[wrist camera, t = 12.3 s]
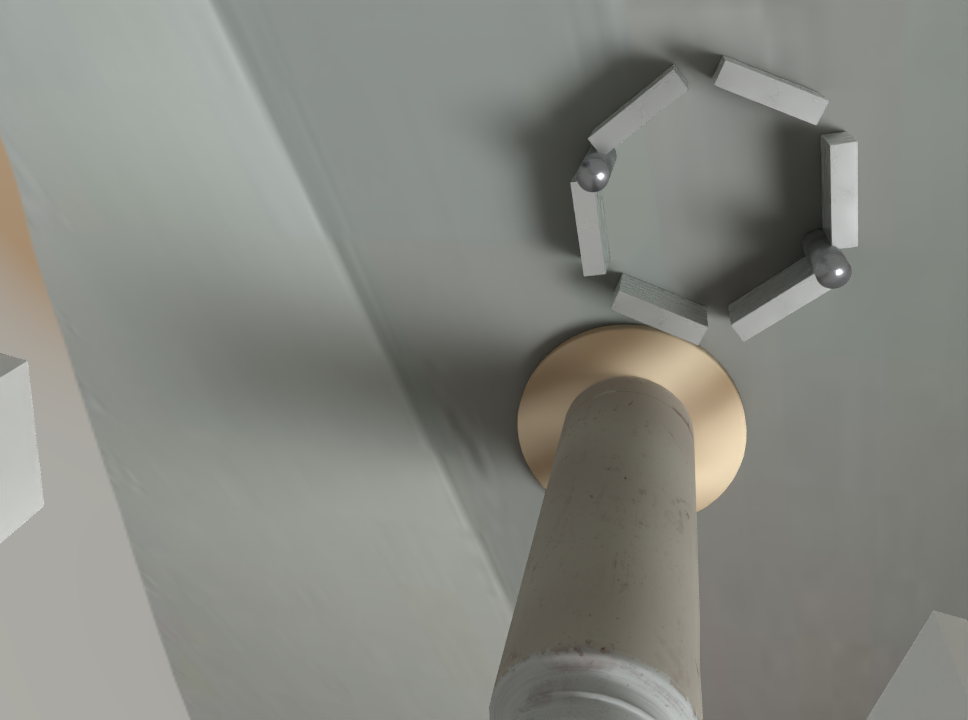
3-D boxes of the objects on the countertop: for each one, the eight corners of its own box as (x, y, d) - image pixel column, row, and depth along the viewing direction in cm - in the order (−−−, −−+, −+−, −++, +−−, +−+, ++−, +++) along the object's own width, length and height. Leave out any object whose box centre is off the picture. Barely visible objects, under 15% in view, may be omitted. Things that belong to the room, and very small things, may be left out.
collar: (528, 182, 45) (511, 204, 41) (754, -2, 39) (764, 0, 34) (672, 363, 48) (671, 401, 43) (906, 218, 41) (932, 246, 37)
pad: (477, 400, 52) (473, 407, 51) (654, 279, 46) (654, 285, 45) (607, 549, 54) (606, 558, 54) (791, 454, 48) (793, 463, 48)
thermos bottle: (706, 476, 49) (733, 973, 25) (583, 495, 52) (495, 962, 27) (677, 363, 46) (673, 795, 22) (548, 389, 49) (414, 801, 24)
